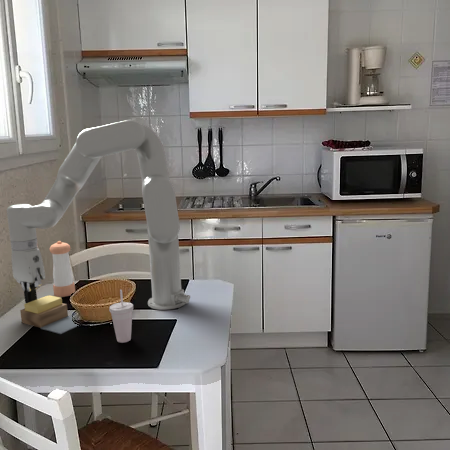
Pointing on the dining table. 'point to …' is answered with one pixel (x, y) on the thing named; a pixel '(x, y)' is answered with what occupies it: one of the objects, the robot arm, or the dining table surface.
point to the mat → (61, 325)
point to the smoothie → (122, 319)
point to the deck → (44, 316)
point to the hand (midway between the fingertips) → (31, 302)
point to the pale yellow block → (43, 304)
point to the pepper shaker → (62, 270)
